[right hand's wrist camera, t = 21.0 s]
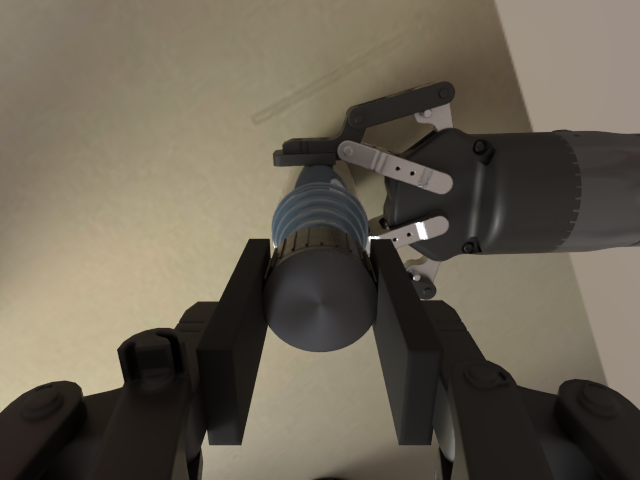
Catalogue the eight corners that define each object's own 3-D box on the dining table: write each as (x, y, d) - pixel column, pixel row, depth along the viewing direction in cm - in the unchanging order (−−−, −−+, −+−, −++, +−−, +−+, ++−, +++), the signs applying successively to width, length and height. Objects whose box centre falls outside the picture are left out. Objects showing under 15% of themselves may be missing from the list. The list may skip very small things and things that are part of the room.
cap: (374, 313, 15) (382, 349, 13) (275, 321, 15) (268, 358, 13) (369, 219, 14) (378, 242, 12) (260, 229, 14) (250, 254, 12)
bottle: (321, 133, 29) (322, 196, 12) (362, 178, 31) (419, 295, 13) (277, 177, 30) (219, 292, 13) (319, 218, 32) (318, 374, 14)
